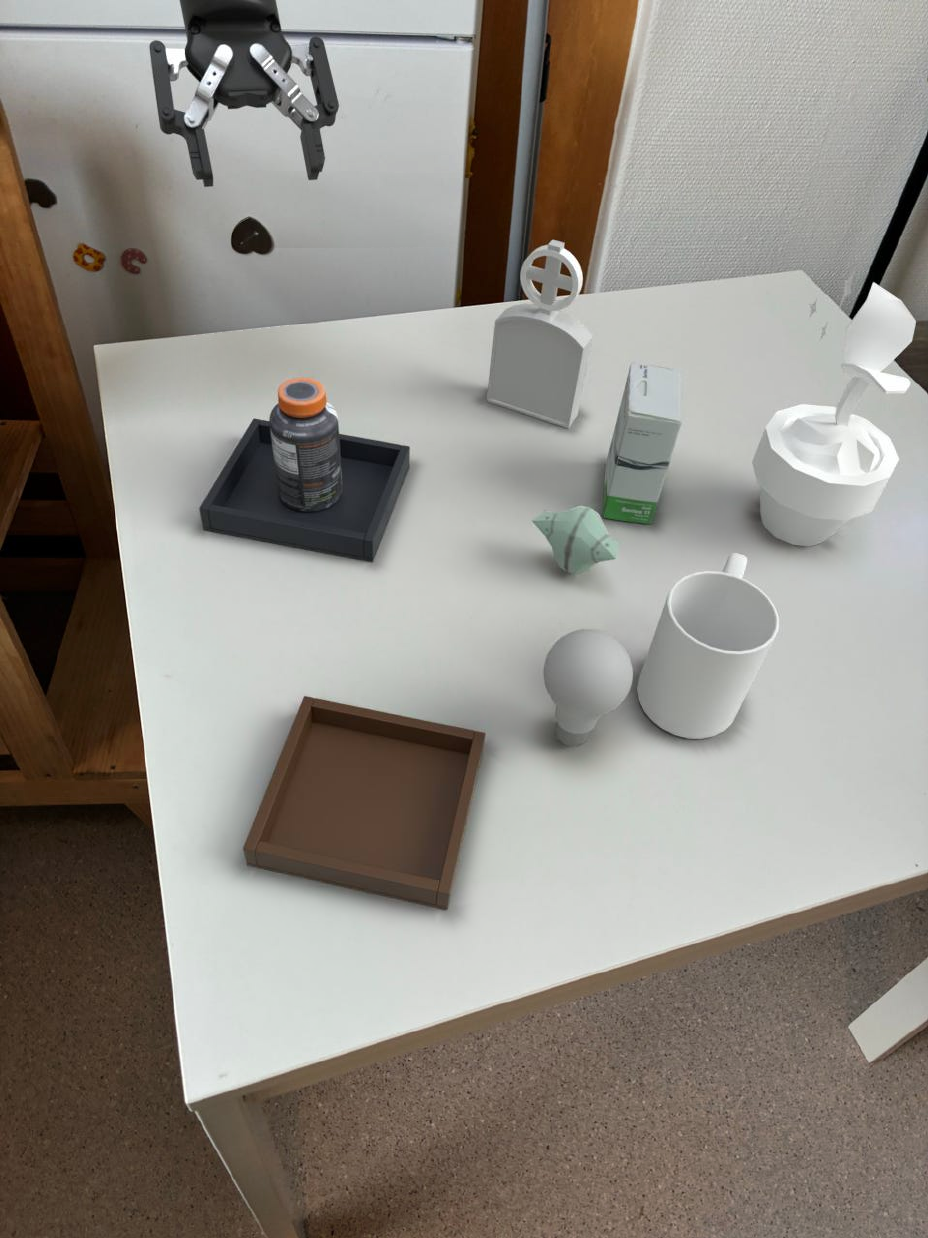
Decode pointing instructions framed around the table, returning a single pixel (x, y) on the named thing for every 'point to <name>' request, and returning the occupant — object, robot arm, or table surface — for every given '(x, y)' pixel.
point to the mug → (706, 651)
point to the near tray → (368, 802)
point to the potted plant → (835, 435)
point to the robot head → (577, 538)
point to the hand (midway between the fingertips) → (262, 179)
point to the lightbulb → (585, 681)
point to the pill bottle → (306, 446)
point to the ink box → (642, 442)
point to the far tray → (342, 529)
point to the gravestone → (541, 344)
